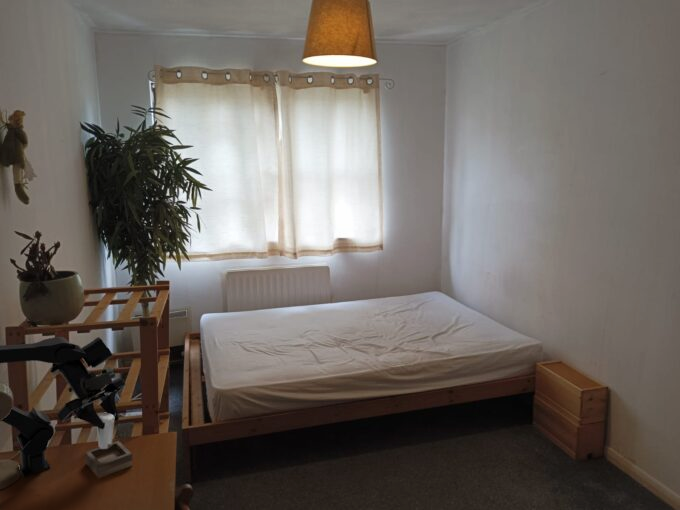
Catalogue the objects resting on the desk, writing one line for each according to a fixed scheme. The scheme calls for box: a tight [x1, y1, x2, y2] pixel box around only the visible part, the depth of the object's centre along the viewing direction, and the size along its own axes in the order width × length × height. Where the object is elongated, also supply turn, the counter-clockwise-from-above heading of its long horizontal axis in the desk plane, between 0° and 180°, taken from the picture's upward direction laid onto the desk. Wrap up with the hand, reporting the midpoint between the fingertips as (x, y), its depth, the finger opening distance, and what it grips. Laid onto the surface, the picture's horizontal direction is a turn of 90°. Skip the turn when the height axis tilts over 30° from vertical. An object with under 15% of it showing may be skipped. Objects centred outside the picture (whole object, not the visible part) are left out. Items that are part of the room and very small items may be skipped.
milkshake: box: [96, 412, 116, 449], centre depth 144 cm, size 4×5×10 cm
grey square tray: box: [85, 440, 133, 479], centre depth 146 cm, size 9×9×4 cm
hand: (110, 424), depth 143 cm, fingers closed on milkshake, 4 cm apart
